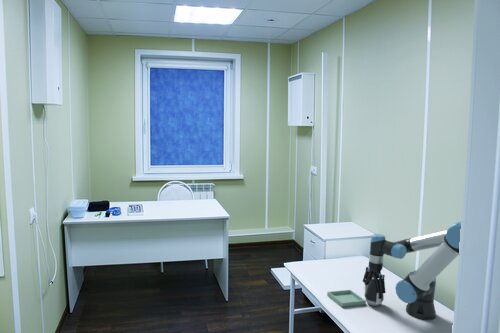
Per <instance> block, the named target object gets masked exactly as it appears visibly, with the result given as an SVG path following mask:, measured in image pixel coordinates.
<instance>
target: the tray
mask: <svg viewBox="0 0 500 333" xmlns="http://www.w3.org/2000/svg"><path fill="white" fill-rule="evenodd" d="M326 296H327V297H328V298H329V299H330V300H332V301H333V302H334V303H335V304H337V305H338V306H339V307H340V308H349V307H357V306H358V307H360V306H366V303H367V301H366V299H364V298H363V297H362V296H360V295H358V294H357V292H354V291H353V290H352V289H343V290H334V291H333V290H330V291H327V294H326Z"/></svg>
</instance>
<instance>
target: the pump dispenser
mask: <svg viewBox="0 0 500 333" xmlns="http://www.w3.org/2000/svg"><path fill="white" fill-rule="evenodd" d="M367 279H368V280H369V281H370V282H369V284H368V286H367V288H366V292H365V291H364V294H365V296H364V298H365V299H364V300H366V303H367V304H369V305H370V306H373V307H378V306H380V305H381V304H382V303H383V301H384V298H385V295H384V293H383V294H382V299H381V304H376V299H377V292H378V289H377V285H376V281H375V280H374V278H372V280H371V279H370V278H368V277H367Z"/></svg>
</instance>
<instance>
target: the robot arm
mask: <svg viewBox="0 0 500 333" xmlns="http://www.w3.org/2000/svg"><path fill="white" fill-rule="evenodd" d="M461 222H462V221H457V222H455V223H453V224H451V225H450V226H449V227H448V228H447V229H444V230H440V231H436V232H431V233H426V234H422V235H419V236H418V235H417V236H415V237H408V238H405V239H402V240H397V241H389V240H386V236H385V235H383V234H382V233H381V234H380V233H373V234H372V235H371V237H370V241H369V242H370V246H369V248H370V249H369V257H368V260H369V261H368V266H366V267H365V272H364V275H363V278H362V282H363V283H364V294H363V295H364V297H365V292H366V288H367V286H368V284H369V282H370V281H369V280H368V279H367V277H368V278H370V279H371V280H372V279H373V278H374V280H375V281H376V285H377V289H378V292H377V299H376V304H380V305H382V303H381V299H382V294H383V295H384V294H386V284H385V277H386V275H385V274H382V270H383V266H384V265H383V262H384V255H386V256H389V257H392V258H395V259H400V260H402V259H404V258H405V257H406V254H410V253H416V252H418V251H424V250H429V249H434V248H436V249H435V250H434V251H433V252H432V253H431V255H430V256H429V257H428V258H427V259H426V260H425V261H424V262H423V263H422V264H421V265H420V266H419V267H418V268H417V270H416V269H415V270H413V271H410V272H409V273H408V274H407V275H406V276H405V277H404V279H402V280H399V281H397V283H396V284H395V293H396V295H397V297H398V299H399V300H400V301H402V302H403V303H406V305H405V306H406V307H405V312H406V313H407V315H409V316H412V317H414V318H415V319H420V320H425V321H426V320H428V321H429V320H434V319H435V318H436V316H437V312H436V307H435V302H434V301H435V293H436V292H435V291H436V284H437V278H438V276H439V275H440V274H441V273H442V272H443V271H444V270H445V269H446V268H447V267H448V266H449V265H450V264H451V263H452V262H453V261H454V260H455V259H456V258H457V257H458V256H459V255H460V254H459V242H460V229H461Z"/></svg>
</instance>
